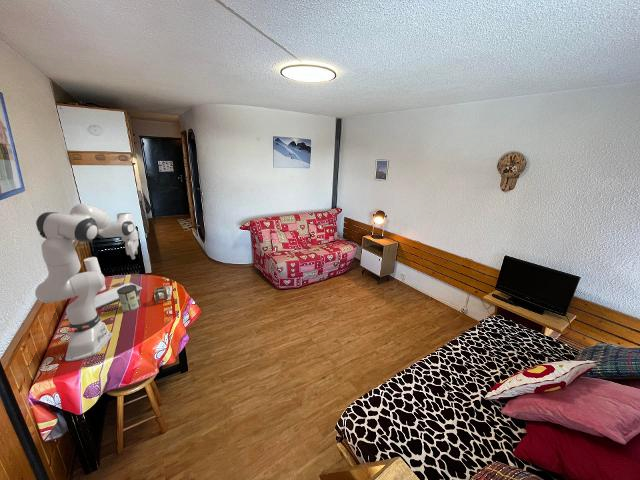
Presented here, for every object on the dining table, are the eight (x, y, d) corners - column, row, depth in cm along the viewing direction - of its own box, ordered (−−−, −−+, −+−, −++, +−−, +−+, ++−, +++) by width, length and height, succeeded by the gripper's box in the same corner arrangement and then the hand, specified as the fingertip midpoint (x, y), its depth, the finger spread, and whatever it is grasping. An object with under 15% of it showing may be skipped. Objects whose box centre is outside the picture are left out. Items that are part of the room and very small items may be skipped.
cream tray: (171, 297, 184) (170, 293, 182) (155, 300, 179) (154, 296, 178) (172, 289, 194) (171, 285, 193) (156, 292, 190) (156, 288, 189)
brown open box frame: (167, 302, 177) (164, 290, 173) (157, 304, 174) (154, 291, 171) (168, 298, 182) (165, 286, 178) (158, 300, 179) (155, 287, 176)
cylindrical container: (99, 292, 189) (89, 261, 181) (91, 291, 191) (81, 260, 183) (108, 287, 196) (99, 257, 188) (100, 286, 197) (91, 256, 189)
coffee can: (130, 302, 177) (125, 284, 172) (144, 303, 176) (140, 285, 171) (118, 311, 167) (112, 292, 163) (133, 312, 166) (127, 293, 162)
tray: (143, 291, 191) (142, 287, 190) (92, 313, 166) (90, 308, 164) (131, 286, 199) (130, 281, 198) (80, 306, 173) (79, 301, 172)
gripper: (132, 241, 162) (137, 261, 166) (138, 232, 179) (142, 250, 184) (120, 242, 159) (126, 262, 164) (127, 233, 177) (132, 252, 181)
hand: (135, 256), depth 174 cm, fingers open, 8 cm apart
